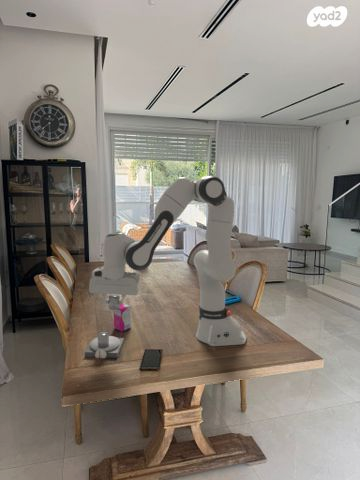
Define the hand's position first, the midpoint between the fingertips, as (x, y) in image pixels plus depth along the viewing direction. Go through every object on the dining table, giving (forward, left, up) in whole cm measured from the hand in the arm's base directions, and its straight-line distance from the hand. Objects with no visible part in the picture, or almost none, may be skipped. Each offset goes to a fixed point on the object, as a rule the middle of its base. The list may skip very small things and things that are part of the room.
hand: (114, 303), depth 136 cm
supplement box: (0, -17, -19) cm, 25 cm away
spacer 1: (+3, +6, -16) cm, 17 cm away
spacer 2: (0, 0, -2) cm, 2 cm away
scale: (+3, +4, -20) cm, 20 cm away
